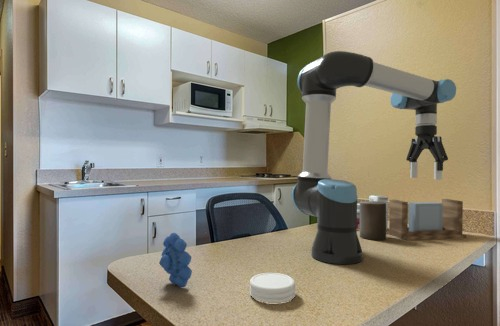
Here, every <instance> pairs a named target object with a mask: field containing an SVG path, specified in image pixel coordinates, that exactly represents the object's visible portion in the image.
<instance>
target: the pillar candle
mask: <svg viewBox="0 0 500 326" xmlns="http://www.w3.org/2000/svg"><path fill="white" fill-rule="evenodd" d="M359 204H360V231H359V237H360V238H361V239H365V240H371V241H383V240H386V239H387V230H386V203H385V202H378V201H369V200H364V201H359Z"/></svg>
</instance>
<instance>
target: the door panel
mask: <svg viewBox="0 0 500 326" xmlns="http://www.w3.org/2000/svg"><path fill="white" fill-rule="evenodd" d="M408 227H409V231H434V230H442V227H443V203H442V202H437V201H430V202H429V201H427V202H425V201H424V202H423V201H422V202H421V201H419V202H417V201H416V202H415V201H413V202H408Z"/></svg>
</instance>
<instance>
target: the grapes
mask: <svg viewBox="0 0 500 326" xmlns="http://www.w3.org/2000/svg"><path fill="white" fill-rule="evenodd" d="M162 245H163V246H164V249H163V250H162V252H161V258H160V259H159V263H158V264H159V265H160V266H161V268H162V269H163V270H164V271H165V272H166V274H169V277H168V280H169V282H170V283H172V285H174V284H177V285H176V286H178V287H179V286H180V288H181V287H183V288H185V287H186V286H187V284H188V281H189V280H190V279H191V277H192V273H193V270H192V269H191V267H189V265H190V263H191V261H192V256H191V254H190V253H189V252H187V251H186V249H187V245H188V243H187V242H186V241H185V240H184V239H183V238H181V237H180V235H179V234H178V233H176V232H171V233H170V234H169V235H168V236H166V237H165V239H164V241H163V242H162Z"/></svg>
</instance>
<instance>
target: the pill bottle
mask: <svg viewBox="0 0 500 326" xmlns="http://www.w3.org/2000/svg"><path fill="white" fill-rule="evenodd" d="M357 231H358V232H360V203H357Z"/></svg>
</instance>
